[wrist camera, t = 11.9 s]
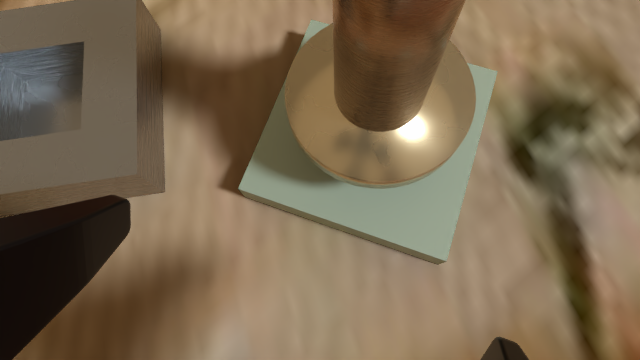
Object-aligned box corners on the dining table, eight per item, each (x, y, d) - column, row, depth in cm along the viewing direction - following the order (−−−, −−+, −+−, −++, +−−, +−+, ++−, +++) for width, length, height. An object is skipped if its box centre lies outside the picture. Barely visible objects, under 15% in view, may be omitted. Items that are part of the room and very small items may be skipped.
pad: (438, 264, 19) (446, 261, 18) (244, 196, 20) (238, 188, 19) (486, 86, 22) (497, 71, 20) (312, 37, 23) (311, 19, 22)
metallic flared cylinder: (469, 191, 18) (1028, -316, 4) (305, 217, 18) (164, -189, 3) (430, 52, 21) (664, -600, 6) (285, 74, 21) (151, -528, 6)
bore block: (164, 192, 21) (137, 174, 18) (-30, 220, 20) (-89, 207, 18) (160, 29, 24) (136, -9, 21) (-10, 54, 23) (-58, 19, 21)
